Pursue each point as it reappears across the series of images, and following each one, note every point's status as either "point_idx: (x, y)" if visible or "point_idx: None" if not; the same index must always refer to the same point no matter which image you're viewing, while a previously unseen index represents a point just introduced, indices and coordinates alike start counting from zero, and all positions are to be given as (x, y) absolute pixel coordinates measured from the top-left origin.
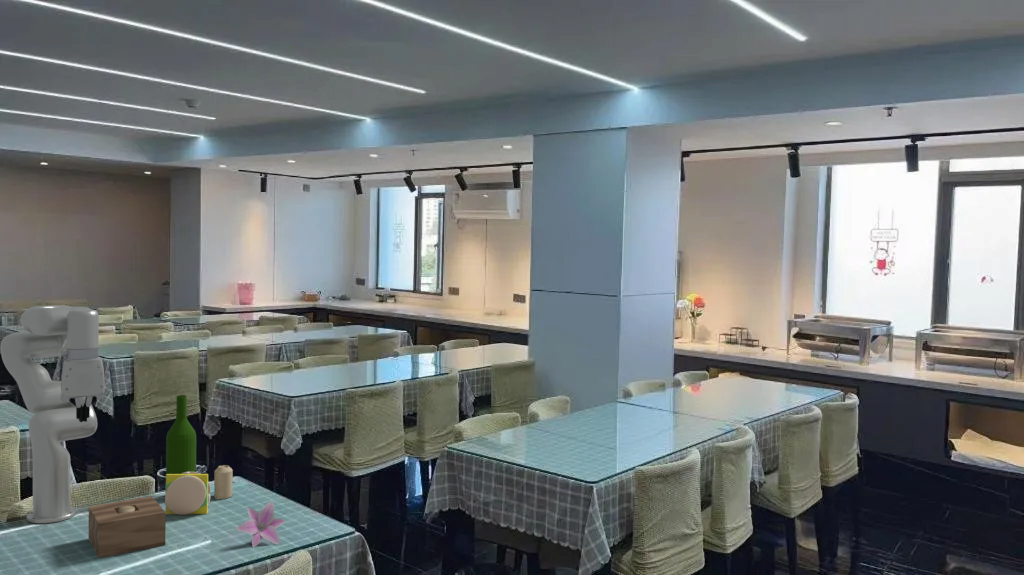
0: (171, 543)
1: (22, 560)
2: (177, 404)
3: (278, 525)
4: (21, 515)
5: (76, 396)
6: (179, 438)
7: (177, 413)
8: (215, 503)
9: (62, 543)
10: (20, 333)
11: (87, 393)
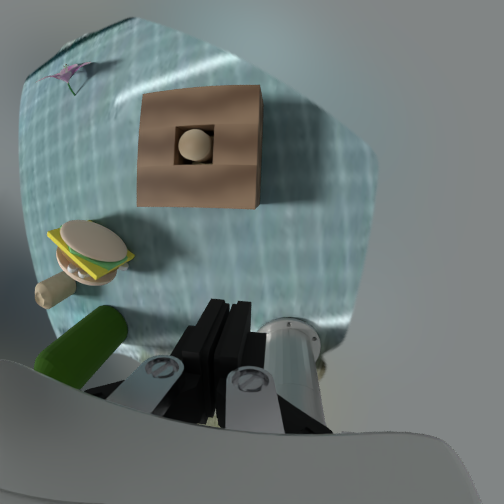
0: None
1: (361, 167)
2: None
3: (55, 74)
4: (318, 371)
5: (284, 435)
6: (53, 358)
7: None
8: None
9: (299, 207)
10: None
11: (101, 427)
